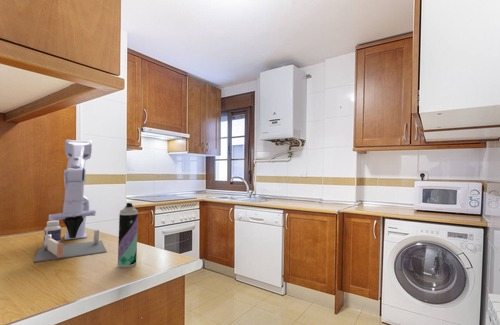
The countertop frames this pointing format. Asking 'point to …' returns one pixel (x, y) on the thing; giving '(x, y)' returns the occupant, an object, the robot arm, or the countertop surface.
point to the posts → (96, 237)
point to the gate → (55, 247)
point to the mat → (71, 251)
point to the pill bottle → (53, 230)
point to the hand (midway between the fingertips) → (72, 237)
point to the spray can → (127, 236)
